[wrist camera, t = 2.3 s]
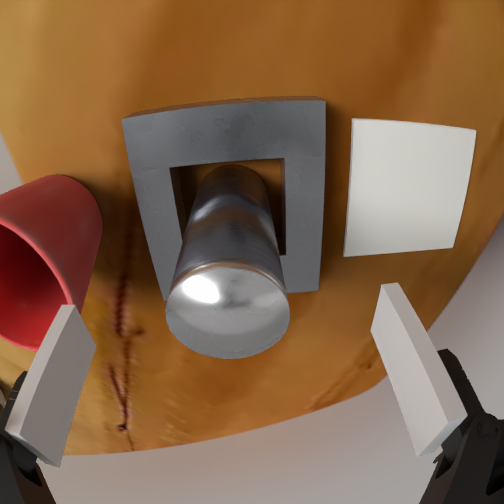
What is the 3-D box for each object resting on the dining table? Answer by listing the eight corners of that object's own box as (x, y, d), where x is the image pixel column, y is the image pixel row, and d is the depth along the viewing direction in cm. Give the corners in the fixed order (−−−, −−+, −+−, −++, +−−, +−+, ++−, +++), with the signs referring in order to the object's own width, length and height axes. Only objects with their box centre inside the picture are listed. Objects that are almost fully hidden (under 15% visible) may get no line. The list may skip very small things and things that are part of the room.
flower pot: (10, 147, 19) (-71, 200, 11) (128, 166, 21) (68, 236, 13) (18, 255, 25) (-34, 325, 16) (119, 281, 27) (84, 370, 18)
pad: (351, 118, 20) (353, 119, 19) (473, 129, 20) (476, 130, 19) (342, 254, 26) (344, 256, 25) (450, 245, 26) (452, 247, 25)
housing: (133, 112, 19) (121, 119, 17) (315, 96, 19) (325, 100, 17) (168, 281, 27) (163, 300, 24) (312, 271, 27) (318, 290, 24)
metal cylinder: (192, 168, 21) (152, 274, 11) (265, 161, 21) (291, 265, 11) (201, 231, 24) (180, 360, 14) (268, 226, 24) (288, 354, 14)
